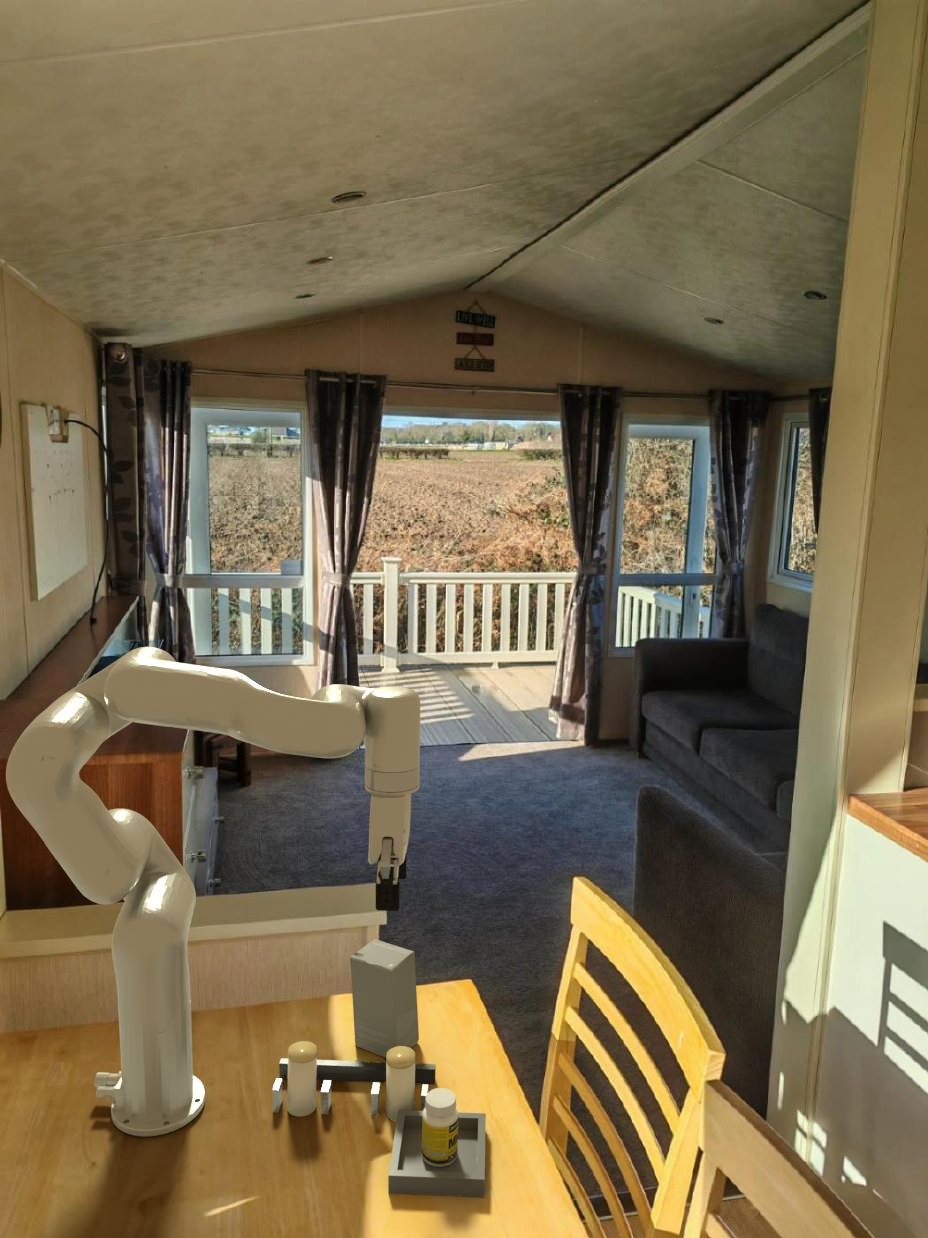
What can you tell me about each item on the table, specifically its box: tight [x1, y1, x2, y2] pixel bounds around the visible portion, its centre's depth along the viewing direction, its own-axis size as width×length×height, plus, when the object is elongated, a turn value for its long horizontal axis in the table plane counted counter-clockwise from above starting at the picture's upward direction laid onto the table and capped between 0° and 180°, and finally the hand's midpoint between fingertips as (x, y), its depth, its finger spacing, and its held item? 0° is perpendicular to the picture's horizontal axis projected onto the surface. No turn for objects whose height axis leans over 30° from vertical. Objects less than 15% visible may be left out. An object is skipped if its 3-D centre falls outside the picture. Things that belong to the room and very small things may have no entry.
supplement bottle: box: [422, 1087, 459, 1167], centre depth 123 cm, size 5×5×8 cm
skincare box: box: [349, 938, 420, 1059], centre depth 146 cm, size 8×7×16 cm
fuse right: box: [385, 1046, 416, 1122], centre depth 132 cm, size 4×4×9 cm
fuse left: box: [286, 1040, 318, 1118], centre depth 133 cm, size 4×4×9 cm
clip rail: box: [272, 1057, 437, 1117], centre depth 136 cm, size 23×8×4 cm, turn 88°
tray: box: [387, 1110, 487, 1198], centre depth 124 cm, size 12×12×2 cm
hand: (391, 893), depth 133 cm, fingers open, 9 cm apart
